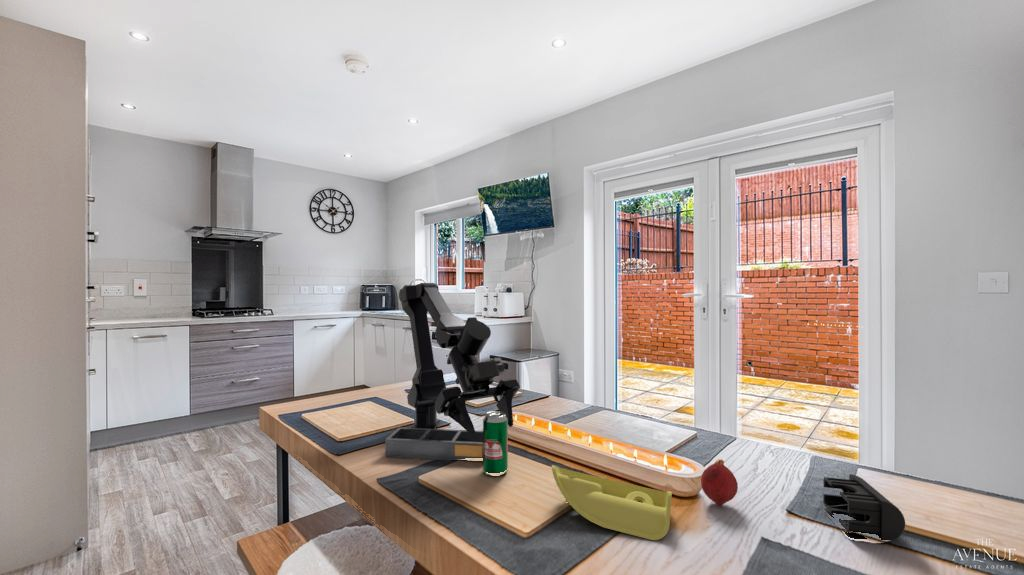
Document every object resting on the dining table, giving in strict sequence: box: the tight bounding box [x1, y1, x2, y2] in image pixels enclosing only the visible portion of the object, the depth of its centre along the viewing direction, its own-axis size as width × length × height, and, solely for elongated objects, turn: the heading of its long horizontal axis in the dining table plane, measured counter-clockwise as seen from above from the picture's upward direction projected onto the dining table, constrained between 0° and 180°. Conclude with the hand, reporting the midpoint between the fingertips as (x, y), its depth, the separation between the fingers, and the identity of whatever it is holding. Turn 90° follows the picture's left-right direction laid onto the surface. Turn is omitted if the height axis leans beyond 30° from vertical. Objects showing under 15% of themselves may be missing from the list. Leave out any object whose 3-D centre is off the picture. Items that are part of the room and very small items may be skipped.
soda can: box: [482, 410, 509, 473], centre depth 92 cm, size 5×5×12 cm
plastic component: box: [551, 464, 673, 541], centre depth 76 cm, size 20×7×10 cm
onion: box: [700, 458, 739, 506], centre depth 79 cm, size 6×6×8 cm
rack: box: [384, 427, 483, 461], centre depth 102 cm, size 8×23×4 cm, turn 83°
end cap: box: [822, 473, 906, 541], centre depth 71 cm, size 10×7×7 cm
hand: (493, 429), depth 92 cm, fingers open, 9 cm apart
